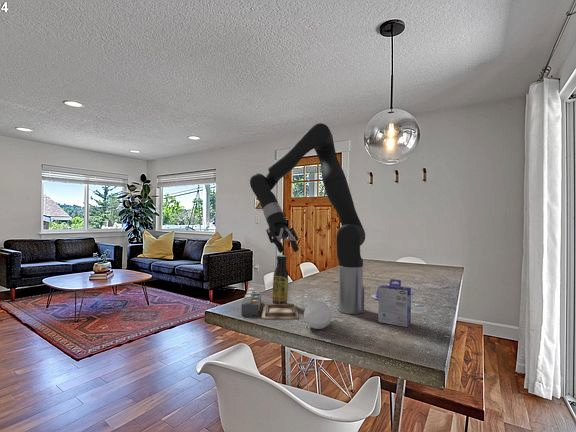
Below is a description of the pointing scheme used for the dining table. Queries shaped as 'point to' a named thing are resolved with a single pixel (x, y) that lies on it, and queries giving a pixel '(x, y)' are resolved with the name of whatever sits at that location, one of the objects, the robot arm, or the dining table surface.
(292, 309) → the square beige tray
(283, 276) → the sauce bottle
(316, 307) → the faceted ball with stub
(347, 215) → the robot arm
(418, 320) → the dining table surface
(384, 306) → the ink cartridge box
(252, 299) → the breaker bank
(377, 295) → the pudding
